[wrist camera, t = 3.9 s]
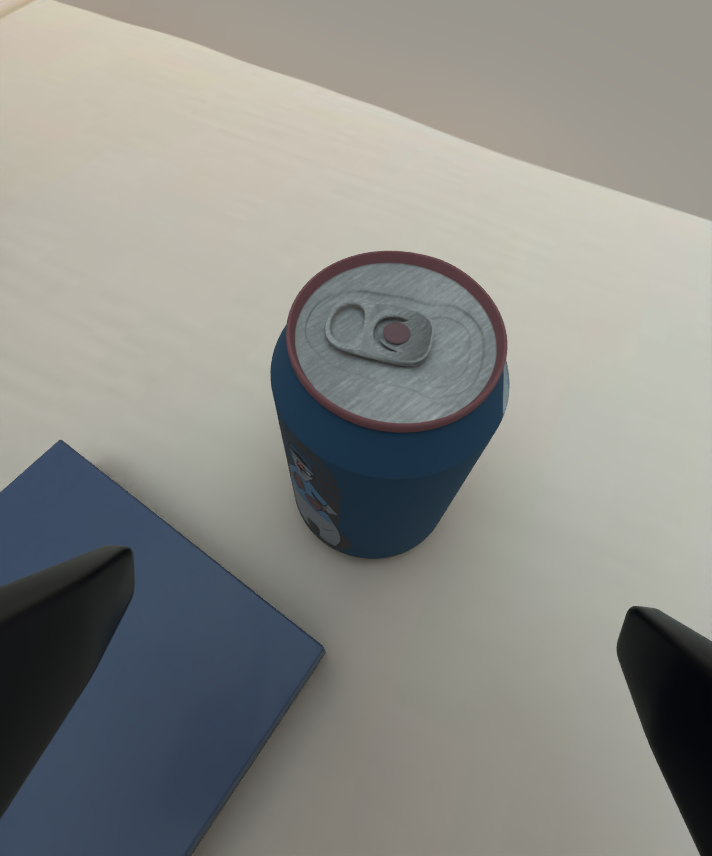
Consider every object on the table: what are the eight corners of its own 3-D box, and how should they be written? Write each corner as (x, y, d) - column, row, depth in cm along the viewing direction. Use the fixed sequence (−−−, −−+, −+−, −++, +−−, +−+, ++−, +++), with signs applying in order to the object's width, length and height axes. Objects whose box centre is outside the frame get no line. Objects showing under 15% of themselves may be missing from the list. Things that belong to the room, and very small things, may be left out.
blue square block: (326, 652, 20) (324, 647, 17) (54, 1060, 14) (-10, 1145, 12) (91, 466, 23) (60, 438, 20) (-200, 740, 18) (-294, 750, 15)
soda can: (452, 446, 24) (542, 263, 14) (426, 584, 21) (517, 484, 11) (320, 413, 25) (308, 213, 14) (275, 542, 22) (218, 408, 11)
